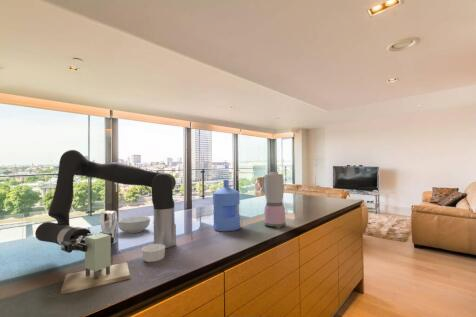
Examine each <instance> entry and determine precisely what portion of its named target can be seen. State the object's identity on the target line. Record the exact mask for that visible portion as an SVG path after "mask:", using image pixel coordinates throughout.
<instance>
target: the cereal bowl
mask: <svg viewBox="0 0 476 317" xmlns="http://www.w3.org/2000/svg"><path fill="white" fill-rule="evenodd" d="M150 222H151V218H150V217H149V216H133V217H126V218H121V219H119V220H118V219H117V226H118V229H119V230H120V231H122V232H125V233H127V234H137V233H141V232H142V231H143V230H145V229H147V228H148V227H149V226H150Z"/></svg>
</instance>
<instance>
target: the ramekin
mask: <svg viewBox="0 0 476 317" xmlns="http://www.w3.org/2000/svg"><path fill="white" fill-rule="evenodd" d="M165 247H166V246H165V245H163V244H154V243H151V244H148V245H145V246H143V247H142V248H141V252H142V259H143V261H144V262H145V263H151V262H152V263H154V262H157V261H161V260H162V259H164V258H165V254H166V253H165V252H166V248H165Z"/></svg>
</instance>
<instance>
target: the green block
mask: <svg viewBox="0 0 476 317" xmlns="http://www.w3.org/2000/svg"><path fill="white" fill-rule="evenodd" d="M93 234H94V235H90V236H86V237H85V244H87V251H86V252H84V268H85V270H86V269H89V270H92V271H95V272H96V271H98V270H101V269H103V268H106V267H109V266H111V263H112V262H111V261H112V260H111V258H112V257H111V255H112V254H111V253H112V252H111V251H112V250H111V248H112V247H111V245H112V244H111V235H108V234H103V233H100V232H99V233H93Z"/></svg>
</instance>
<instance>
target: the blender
mask: <svg viewBox="0 0 476 317" xmlns="http://www.w3.org/2000/svg"><path fill="white" fill-rule="evenodd" d="M284 186H285V184H284V174H282V173H279V171H269V173H265V174H264V176H263V177H262V178H261V191H262V193H263V194H264V195H265V199H266V200H265V201H266V204H265V207H264V226H265V227H267V226H269V227H275V228H276V229H280V228H281V227H286V223H287V222H286V209H285V208H286V207H285V206H284V203H283V202H284V201H283V199H284V193H285V188H284Z"/></svg>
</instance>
